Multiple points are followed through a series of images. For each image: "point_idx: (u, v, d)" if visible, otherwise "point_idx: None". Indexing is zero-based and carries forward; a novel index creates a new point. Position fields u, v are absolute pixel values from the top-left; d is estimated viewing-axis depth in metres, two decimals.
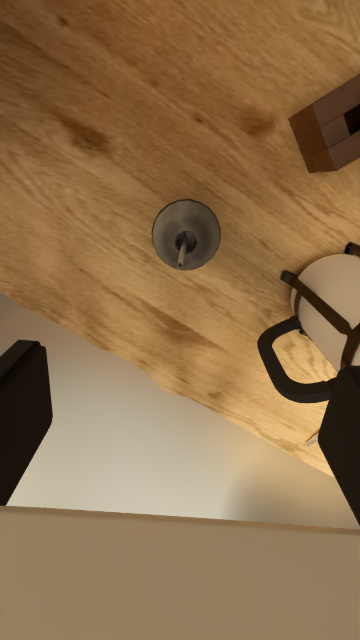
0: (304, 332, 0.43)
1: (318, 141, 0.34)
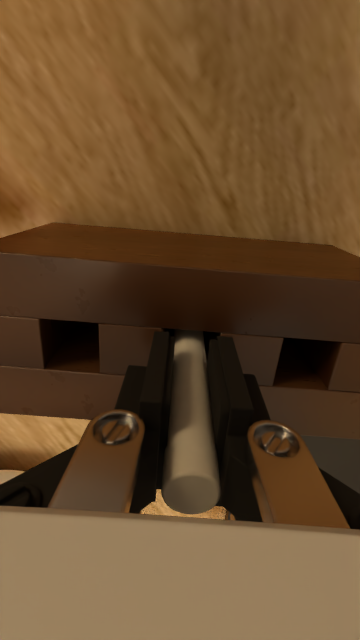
0: None
1: None
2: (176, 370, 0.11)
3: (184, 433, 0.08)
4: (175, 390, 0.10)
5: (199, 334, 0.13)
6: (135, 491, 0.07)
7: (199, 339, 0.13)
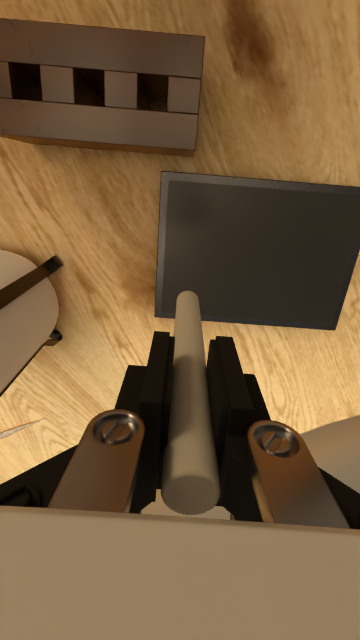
0: None
1: None
2: (176, 372, 0.11)
3: (184, 433, 0.08)
4: (175, 391, 0.10)
5: (199, 337, 0.13)
6: (135, 491, 0.07)
7: (199, 342, 0.13)
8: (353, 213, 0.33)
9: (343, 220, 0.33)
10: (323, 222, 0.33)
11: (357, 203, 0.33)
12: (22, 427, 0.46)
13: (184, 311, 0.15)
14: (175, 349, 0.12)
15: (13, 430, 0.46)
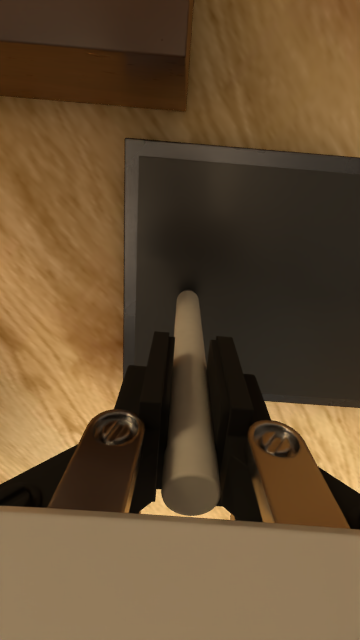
0: None
1: None
2: (176, 372, 0.11)
3: (184, 434, 0.08)
4: (175, 392, 0.10)
5: (199, 337, 0.13)
6: (135, 491, 0.07)
7: (199, 342, 0.13)
8: None
9: None
10: None
11: None
12: None
13: (184, 311, 0.15)
14: (175, 349, 0.12)
15: None
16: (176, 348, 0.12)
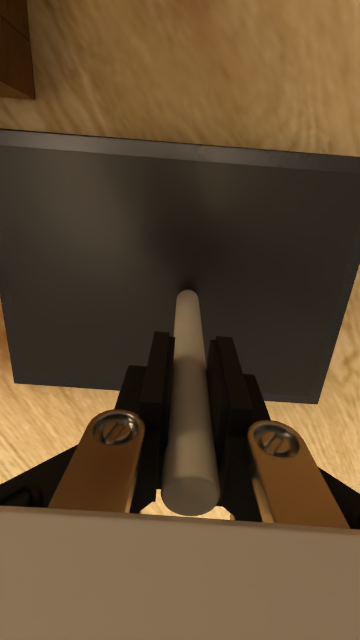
0: None
1: None
2: (175, 373, 0.11)
3: (182, 435, 0.08)
4: (174, 393, 0.10)
5: (198, 336, 0.13)
6: (135, 491, 0.07)
7: (198, 341, 0.13)
8: (343, 207, 0.18)
9: (325, 220, 0.18)
10: (288, 224, 0.18)
11: (352, 188, 0.17)
12: None
13: (183, 311, 0.15)
14: (174, 350, 0.12)
15: None
16: (175, 348, 0.12)
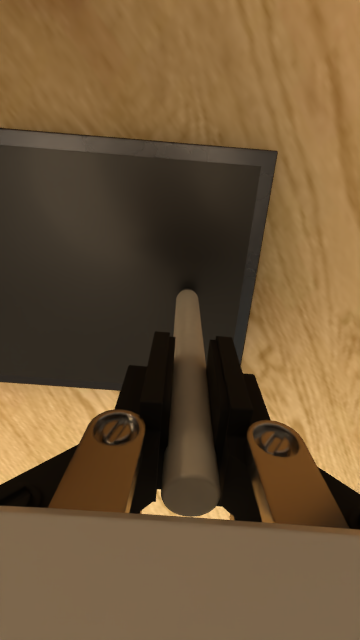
0: None
1: None
2: (174, 374, 0.11)
3: (181, 436, 0.08)
4: (173, 394, 0.10)
5: (197, 336, 0.13)
6: (135, 491, 0.07)
7: (197, 341, 0.13)
8: (236, 199, 0.18)
9: (218, 212, 0.18)
10: (182, 216, 0.18)
11: (243, 180, 0.17)
12: None
13: (183, 311, 0.15)
14: None
15: None
16: (175, 349, 0.12)
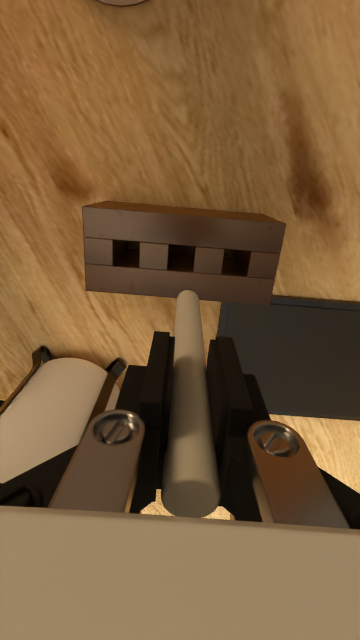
0: None
1: None
2: (174, 375, 0.11)
3: (181, 438, 0.08)
4: (173, 395, 0.10)
5: (198, 337, 0.13)
6: (135, 491, 0.07)
7: (198, 342, 0.13)
8: None
9: None
10: None
11: None
12: None
13: (183, 311, 0.15)
14: (174, 351, 0.12)
15: None
16: (175, 350, 0.12)
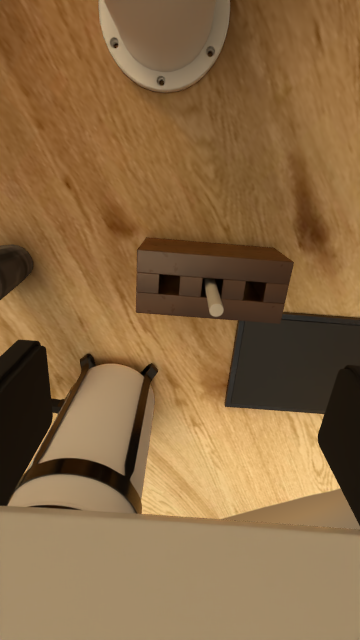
0: None
1: None
2: (208, 291, 0.32)
3: (213, 299, 0.30)
4: (209, 294, 0.31)
5: (214, 282, 0.35)
6: None
7: (214, 283, 0.34)
8: None
9: None
10: None
11: None
12: None
13: None
14: (206, 286, 0.34)
15: None
16: (206, 286, 0.34)
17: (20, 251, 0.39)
